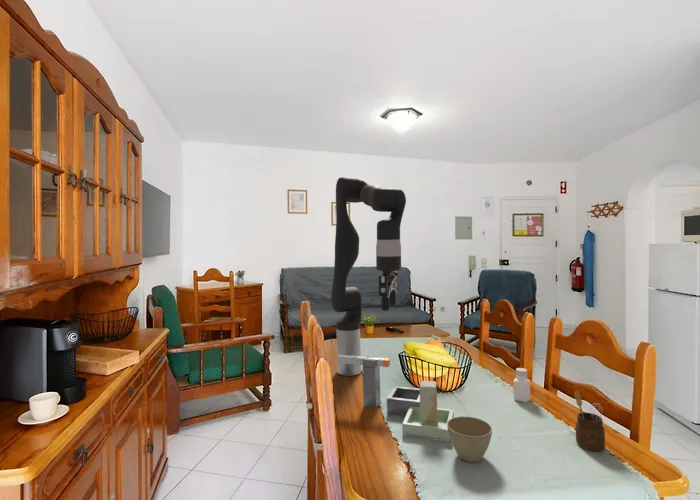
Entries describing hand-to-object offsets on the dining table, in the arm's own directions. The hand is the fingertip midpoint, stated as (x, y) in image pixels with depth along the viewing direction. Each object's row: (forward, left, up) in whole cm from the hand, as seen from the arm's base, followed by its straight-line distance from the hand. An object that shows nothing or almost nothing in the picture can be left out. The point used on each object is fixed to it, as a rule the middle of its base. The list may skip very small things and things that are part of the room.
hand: (389, 307), depth 116 cm
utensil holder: (+8, +51, -31) cm, 60 cm away
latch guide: (0, -6, -30) cm, 31 cm away
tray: (+10, +13, -30) cm, 34 cm away
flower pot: (+21, +24, -31) cm, 44 cm away
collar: (0, +5, -30) cm, 31 cm away
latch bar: (0, -9, -18) cm, 20 cm away
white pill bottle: (-16, +38, -31) cm, 51 cm away
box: (+9, +13, -30) cm, 34 cm away
